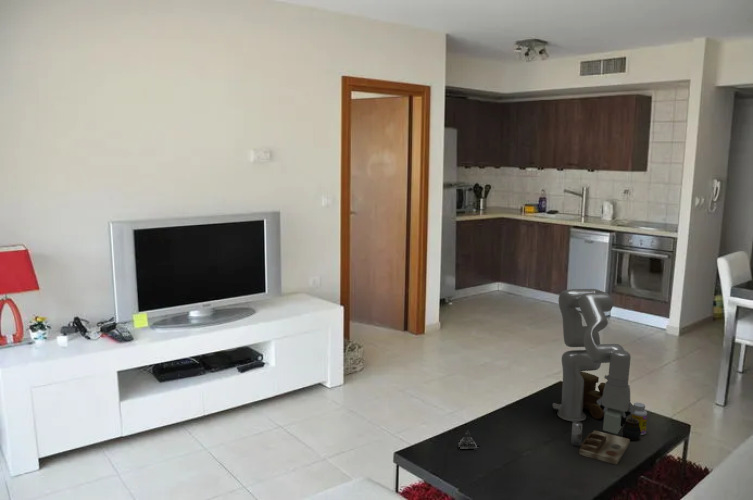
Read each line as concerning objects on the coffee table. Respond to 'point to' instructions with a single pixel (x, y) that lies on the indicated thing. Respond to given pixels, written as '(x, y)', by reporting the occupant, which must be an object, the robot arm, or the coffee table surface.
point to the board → (604, 447)
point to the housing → (612, 421)
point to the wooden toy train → (592, 394)
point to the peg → (576, 433)
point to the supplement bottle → (640, 416)
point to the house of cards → (466, 445)
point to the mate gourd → (631, 429)
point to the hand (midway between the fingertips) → (614, 422)
